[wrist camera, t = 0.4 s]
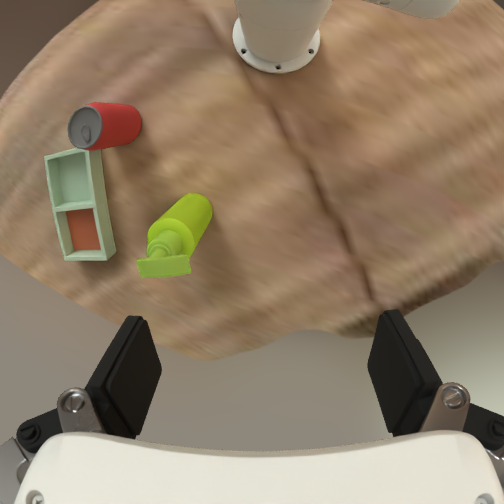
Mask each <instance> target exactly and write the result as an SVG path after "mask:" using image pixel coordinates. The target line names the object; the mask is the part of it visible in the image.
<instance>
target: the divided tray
mask: <svg viewBox="0 0 504 504" xmlns="http://www.w3.org/2000/svg"><path fill="white" fill-rule="evenodd" d="M44 159H45V167H46V175H47V182H48V188H49V194H50V200H51V205H52V210H53V215H54V220H55V224H56V229H57V233H58V237H59V241H60V245H61V249H62V253H63V256H64V260H65V261H106V260H108V259H109V258H110V257H111V256H112V255H113V254H115V253H116V247H115V242H114V237H113V232H112V226H111V221H110V215H109V209H108V203H107V197H106V190H105V183H104V175H103V167H102V158H101V150H96V151H88V150H83V149H79V148H75V149H71V150H67V151H63V152H59V153H55V154H51V155H48V156H45V157H44Z"/></svg>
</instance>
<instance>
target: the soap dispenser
mask: <svg viewBox="0 0 504 504" xmlns="http://www.w3.org/2000/svg"><path fill="white" fill-rule="evenodd" d="M212 212H213V211H212V206H211V204H210V202H209V200H208V199H207V198H206V197H204V196H203V195H201V194H197V193H190V194H187V195H185V196H183V197H182V198H181V199H180V200H178V201H177V202H176V203H175V204H174V205H173V206H172V207H171V208H170V209H169V210H168V211H166V212H165V213H164V214H163V215H162V216H161V217H160V218H159V219H158V220H157V221H156V222H155V223H154V224H153V225H152V226H151V227H150V229H149V231H148V235H147V243H148V247H147V258H138V259H137V260H136V263H137V266H138V270H139V273H140V277H141V278H158V277H171V276H178V275H183V274H188V273H191V267H190V262H189V258H190V256H191V255H192V253H193V251H194V249H195V248H196V246H197V244H198V242H199V240H200V238H201V236H202V235H203V233H204V231H205V229H206V227H207V225H208V224H209V222H210V220H211V218H212Z"/></svg>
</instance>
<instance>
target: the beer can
mask: <svg viewBox="0 0 504 504" xmlns="http://www.w3.org/2000/svg"><path fill="white" fill-rule="evenodd" d="M141 124H142V123H141V117H140V114H139V112H138V111H137V110H136V109H135V108H134V107H132V106H130V105H122V104H112V103H98V102H93V103H90V104H88V105H85V106H83V107H80V108H78V109H77V110H76V111H75V112H74V113H73V114H72V116H71V118H70V120H69V123H68V137H69V139H70V142H71V143H72V144H73V145H74V146H75V147H77V148H79V149H83V150H88V151H96V150H101V149H105V148H110V147H115V146H121V145H125V144H129V143H130V142H132V141H134V139H135V138H136V137H137V136H138V134H139V132H140V130H141Z"/></svg>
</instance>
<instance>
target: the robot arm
mask: <svg viewBox="0 0 504 504" xmlns="http://www.w3.org/2000/svg"><path fill="white" fill-rule="evenodd" d="M332 1H333V0H235V4H236V8H237V12H238V16H239V17H238V19H237V20H236V22H235V25H234V28H233V43H234V46H235V48H236V50H237V52H238V54H239V55H240V56H241V58H242V59H243V60H244V61H245V62H247V63H248V64H249V65H251V66H252V67H254V68H256V69H258V70H261V71H264V72H269V73H289V72H292V71H296V70H298V69H300V68H302V67H304V66H305V65H306V64H308V63H309V62H310V61H311V60H312V59H313V57H314V56H315V55H316V53H317V51H318V48H319V45H320V32H319V26H320V24H321V22H322V21H323V19H324V17H325V16H326V14H327V12H328V10H329V8H330V7H331V4H332ZM363 1H367V2H370V3H374V4H377V5H380V6H383V7H387V8H390V9H392V10H395V11H398V12H401V13H404V14H407V15H411V16H414V17H418V18H423V19H436V18H440V17H443V16H445V15H446V14H448V13H449V12H451V11H452V10H453V9H454V8H455V7H456V5H457V4H458V3H459V1H460V0H363ZM243 51H245V52H246V53H245V54H243V53H242V52H243ZM309 51H310V52H312V54H309ZM277 67H279V68H280V69H279V70H277V69H276V68H277ZM161 371H162V368H161V363H160V361H159V358H158V355H157V352H156V349H155V345H154V342H153V339H152V336H151V333H150V329H149V326H148V323H147V321H146V320H144V319H143V318H142V317H141V316H128V317H127V318H126V319H125V321H124V323H123V324H122V326H121V327H120V329H119V331H118V332H117V334H116V336H115V337H114V339H113V341H112V342H111V344H110V346H109V347H108V349H107V351H106V352H105V354H104V356H103V357H102V359H101V361H100V362H99V364H98V366H97V368H96V370H95V371H94V373H93V375H92V377H91V378H90V380H89V382H88V384H87V385H86V387H85V389H81V388H71V389H68V390H66V391H64V392H63V393H62V394H61V395H60V397H59V398H58V401H57V408H56V409H54V410H51V411H49V412H47V413H44V414H42V415H40V416H37V417H35V418H32V419H30V420H27V421H25V422H24V423H22V424H21V425H20V426H19V428H18V430H17V434H16V435H17V438H16V439H14V438H13V437H12V438H11V439H9V440H8V441H6V442H5V443H4V444H3V445H1V446H0V503H1V504H504V416H502V415H499V414H497V413H494V412H491V411H489V410H487V409H484V408H482V407H479V406H477V405H474V404H472V403H470V395H469V392H468V391H467V389H466V388H465V387H463V386H462V385H460V384H458V383H454V382H451V383H445V384H443V383H442V381H441V379H440V377H439V375H438V373H437V372H436V370H435V368H434V366H433V364H432V362H431V361H430V359H429V357H428V355H427V354H426V352H425V350H424V348H423V347H422V345H421V343H420V342H419V340H418V339H416V338H415V336H414V334H413V332H412V331H411V329H410V327H409V326H408V324H407V322H406V321H405V319H404V317H403V316H402V314H401V313H400V311H399V310H397V309H396V310H386V311H384V313H383V314H381V315H380V316H379V320H378V324H377V328H376V333H375V337H374V341H373V345H372V349H371V352H370V356H369V359H368V371H369V374H370V377H371V380H372V383H373V385H374V389H375V392H376V395H377V398H378V401H379V404H380V407H381V411H382V414H383V417H384V420H385V423H386V426H387V430H388V432H389V433H392V434H393V437H392V438H388V439H382V440H377V441H371V442H365V443H358V444H352V445H344V446H338V447H328V448H318V449H306V450H289V451H228V450H211V449H199V448H188V447H180V446H172V445H165V444H159V443H152V442H146V441H140V440H135V438H136V435H140V433H141V430H142V427H143V424H144V421H145V418H146V415H147V413H148V410H149V406H150V404H151V401H152V398H153V395H154V392H155V390H156V387H157V384H158V381H159V378H160V376H161Z"/></svg>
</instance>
